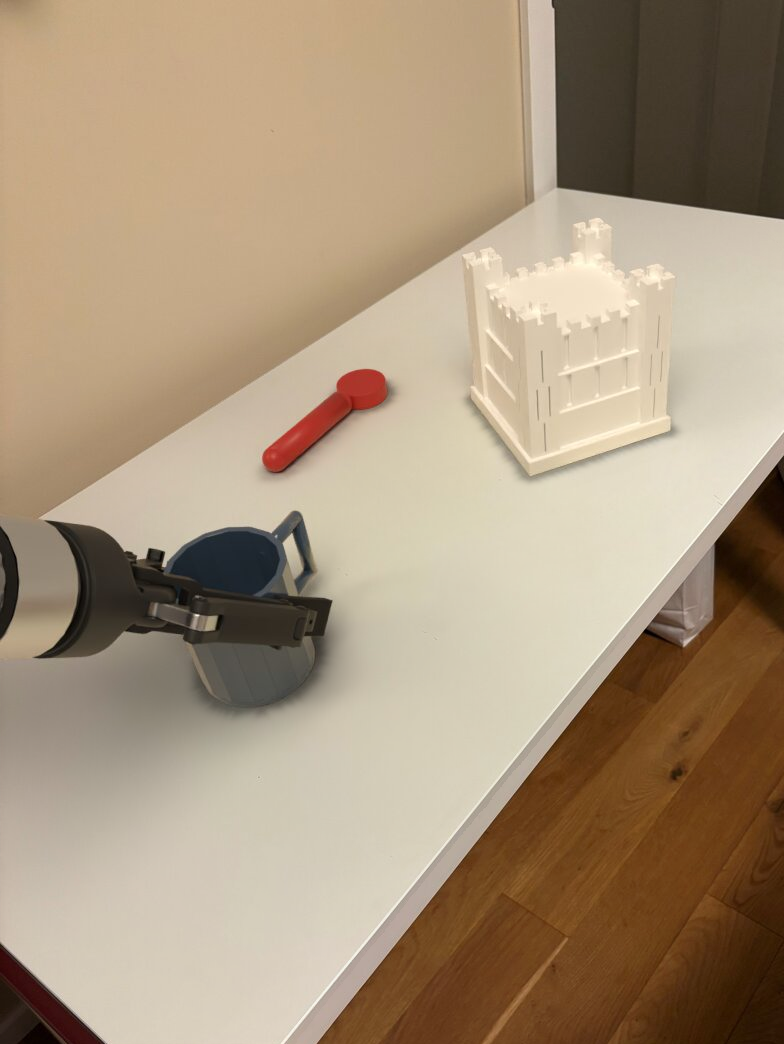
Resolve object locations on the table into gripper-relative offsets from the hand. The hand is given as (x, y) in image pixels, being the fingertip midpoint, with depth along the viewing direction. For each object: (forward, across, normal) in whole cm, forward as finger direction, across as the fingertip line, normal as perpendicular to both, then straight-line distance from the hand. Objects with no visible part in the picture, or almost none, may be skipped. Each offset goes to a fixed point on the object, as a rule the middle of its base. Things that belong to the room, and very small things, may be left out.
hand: (272, 600), depth 71 cm
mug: (+2, 0, -3) cm, 4 cm away
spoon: (+20, -12, +15) cm, 28 cm away
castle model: (+27, +10, +22) cm, 36 cm away
